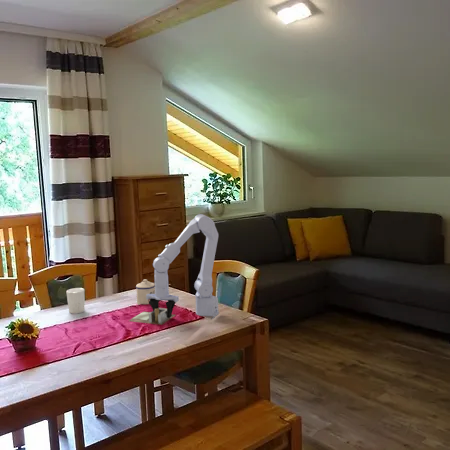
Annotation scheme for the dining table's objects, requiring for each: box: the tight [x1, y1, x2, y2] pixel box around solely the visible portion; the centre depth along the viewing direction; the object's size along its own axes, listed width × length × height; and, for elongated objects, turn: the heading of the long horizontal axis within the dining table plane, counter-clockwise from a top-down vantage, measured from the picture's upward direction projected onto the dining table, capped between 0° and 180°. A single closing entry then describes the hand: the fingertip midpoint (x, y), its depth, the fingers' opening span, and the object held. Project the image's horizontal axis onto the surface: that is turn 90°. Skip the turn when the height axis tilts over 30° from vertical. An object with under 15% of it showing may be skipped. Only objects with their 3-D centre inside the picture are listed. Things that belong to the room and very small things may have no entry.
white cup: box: [66, 287, 86, 314], centre depth 226 cm, size 8×8×10 cm
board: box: [128, 307, 176, 325], centre depth 211 cm, size 16×13×6 cm
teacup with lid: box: [135, 279, 155, 306], centre depth 237 cm, size 12×9×12 cm
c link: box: [148, 307, 169, 325], centre depth 208 cm, size 8×6×4 cm
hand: (163, 316), depth 211 cm, fingers closed on c link, 6 cm apart
